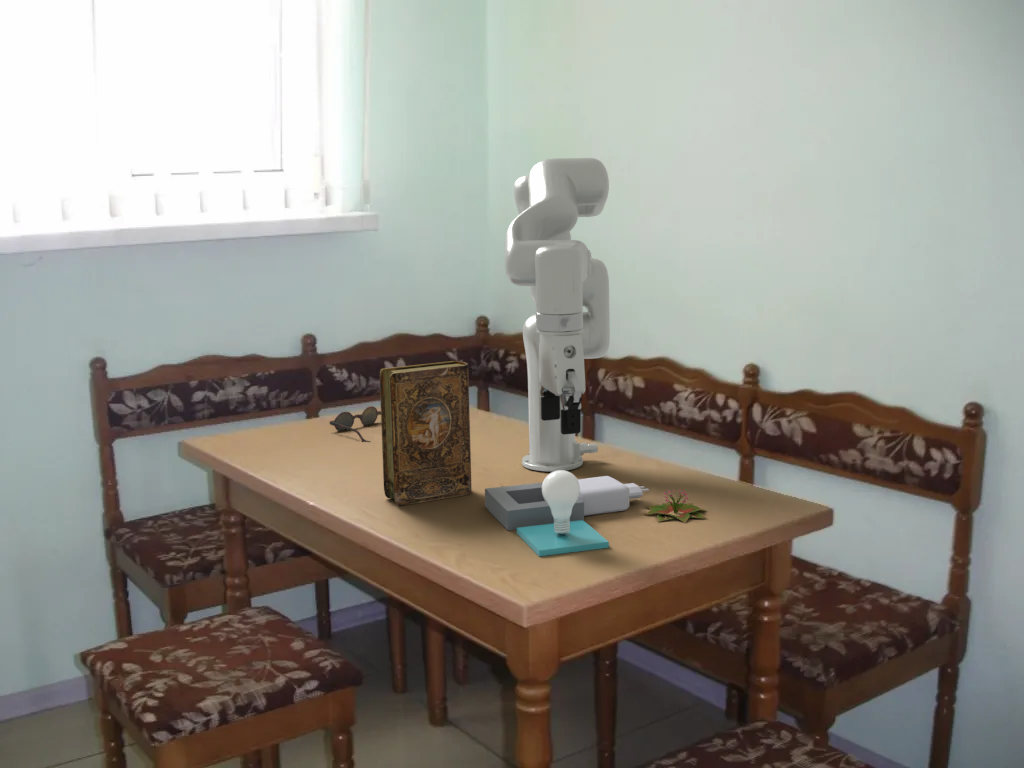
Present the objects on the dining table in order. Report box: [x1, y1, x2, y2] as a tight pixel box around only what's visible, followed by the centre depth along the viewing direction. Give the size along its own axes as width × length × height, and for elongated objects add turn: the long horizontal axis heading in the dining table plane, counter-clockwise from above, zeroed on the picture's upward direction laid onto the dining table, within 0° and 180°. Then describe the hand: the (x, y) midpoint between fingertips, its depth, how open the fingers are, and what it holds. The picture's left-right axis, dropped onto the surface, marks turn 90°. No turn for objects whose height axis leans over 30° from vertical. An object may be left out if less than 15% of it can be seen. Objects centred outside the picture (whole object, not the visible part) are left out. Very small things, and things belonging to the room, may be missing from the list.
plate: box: [516, 520, 610, 557], centre depth 189 cm, size 12×12×1 cm
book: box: [379, 360, 473, 506], centre depth 212 cm, size 16×6×25 cm, turn 117°
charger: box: [577, 475, 650, 517], centre depth 207 cm, size 5×9×15 cm
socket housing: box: [484, 481, 585, 531], centre depth 203 cm, size 14×14×4 cm
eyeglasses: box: [329, 406, 381, 443], centre depth 265 cm, size 15×15×5 cm
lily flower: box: [644, 489, 709, 524], centre depth 202 cm, size 12×12×5 cm
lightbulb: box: [542, 470, 580, 535], centre depth 188 cm, size 6×6×11 cm
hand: (560, 426), depth 185 cm, fingers open, 9 cm apart
